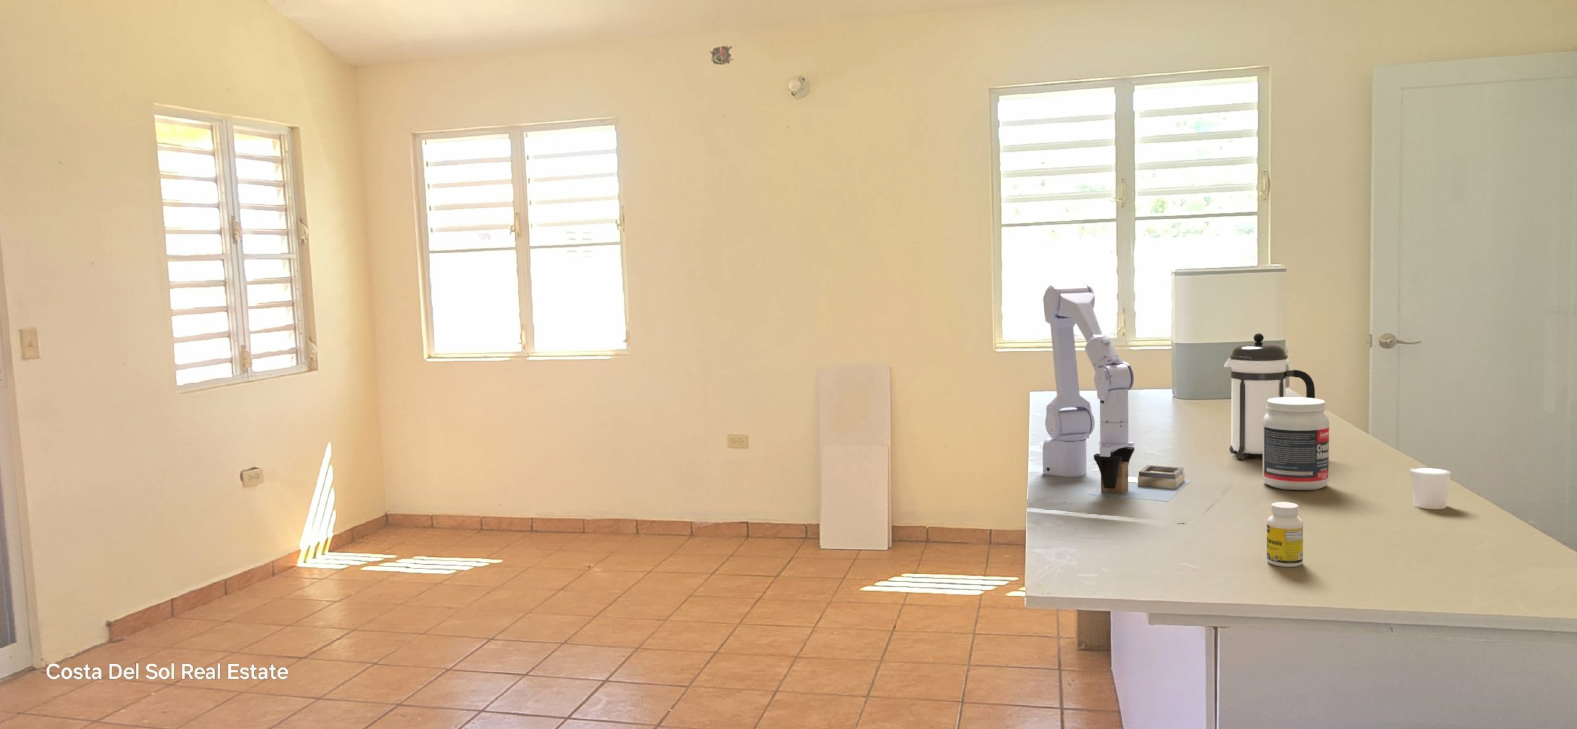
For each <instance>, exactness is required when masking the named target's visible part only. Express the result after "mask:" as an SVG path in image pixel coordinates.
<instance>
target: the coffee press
mask: <svg viewBox="0 0 1577 729" xmlns="http://www.w3.org/2000/svg"><path fill="white" fill-rule="evenodd" d="M1264 338H1265V337H1264V335H1263V334H1261V333H1260V332H1259V333H1255V334H1254V336H1253V340H1254V343H1253V342H1252V343H1244V344H1240V345H1237V346H1235V347H1233V349H1232V352H1231V353H1230V354H1229V357H1228V359H1227V360H1226V361H1225V363H1224V365H1223V366H1224V368H1231V369H1230V379H1231V401H1230V402H1231V407H1230V408H1231V411H1230V412H1231V414H1230V415H1231V416H1230V417H1231V418H1230V419H1231V421H1230V424H1231V425H1230V426H1231V430H1230V432H1231V435H1230V436H1231V439H1230V440H1231V442H1230V443H1231V444H1230V446H1229V452H1230V453H1237V454H1236V455H1235V456H1236V459H1237V460H1239V459H1240V460H1239V461H1241V460H1242V461H1244V460H1245V459H1246V457H1247V456H1248V455H1253V454H1254V455H1255V454H1256V455H1263V418H1264V416H1265V415H1266V414H1267V413H1268V409H1267V408H1266V406H1267V400H1268V399H1271V398H1279V397H1287V395H1286V392H1287V391H1286V385H1287V384H1286V383H1287V382H1286V380H1287V378H1288V377H1289V378H1290V377H1292V378H1299V379H1301V381H1303V382H1304V384H1305V392H1306V393H1305V395H1306V397H1305V398H1314V399H1316V395H1315V394H1316V392H1315V391H1316V390H1315V383H1314V381H1313V379H1312V377H1311V375H1310V374H1308V373H1307V372H1305V371H1303V370H1300V369H1292V370H1288V369H1287V365H1286V364H1287V360H1288V358H1289V356H1288V355H1289V354H1287V352H1286V351H1285V349H1284V348H1283V347H1282V346H1280V345H1278V344H1274V343H1263V341H1264Z"/></svg>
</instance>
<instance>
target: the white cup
mask: <svg viewBox="0 0 1577 729" xmlns="http://www.w3.org/2000/svg"><path fill="white" fill-rule="evenodd" d="M1409 473H1410V484H1411V486H1410V487H1411V496H1412V498H1411V499H1412V506H1414V507H1416V508H1421V509H1426V510H1427V509H1428V510H1441V509H1446V508H1447V504H1448V496H1449V490H1450V482H1451V476H1452V475H1451V474H1452V472H1451V471H1450V470H1448V469H1444V468H1437V467H1429V466H1427V467H1426V466H1423V467H1412V468H1410V471H1409Z"/></svg>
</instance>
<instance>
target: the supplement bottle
mask: <svg viewBox="0 0 1577 729" xmlns="http://www.w3.org/2000/svg"><path fill="white" fill-rule="evenodd" d="M1271 514H1272V515H1271V516H1269V517H1268V518H1267V520H1266V560H1267V561H1266V562H1268V564H1270V565H1274V566H1276V567H1281V568H1294V567H1295V568H1296V567H1300V566H1302V565H1303V562H1304V522H1303V520H1302V519H1301V517H1299V516H1298V515H1299V505H1298V504H1297V503H1293V502H1288V501H1277V502H1273V503H1271Z"/></svg>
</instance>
